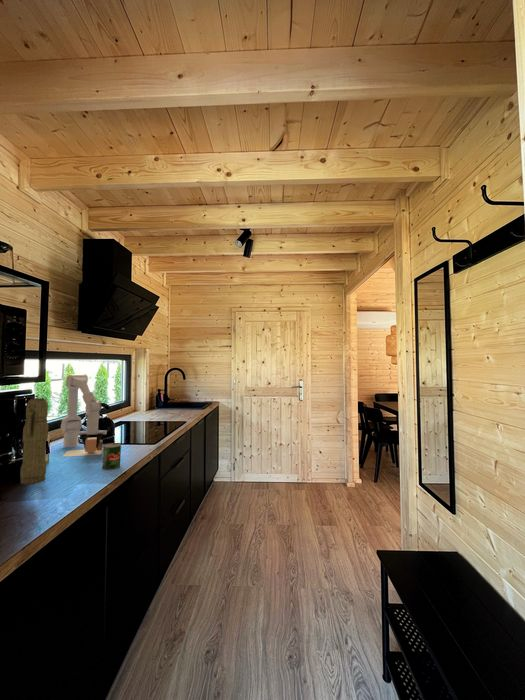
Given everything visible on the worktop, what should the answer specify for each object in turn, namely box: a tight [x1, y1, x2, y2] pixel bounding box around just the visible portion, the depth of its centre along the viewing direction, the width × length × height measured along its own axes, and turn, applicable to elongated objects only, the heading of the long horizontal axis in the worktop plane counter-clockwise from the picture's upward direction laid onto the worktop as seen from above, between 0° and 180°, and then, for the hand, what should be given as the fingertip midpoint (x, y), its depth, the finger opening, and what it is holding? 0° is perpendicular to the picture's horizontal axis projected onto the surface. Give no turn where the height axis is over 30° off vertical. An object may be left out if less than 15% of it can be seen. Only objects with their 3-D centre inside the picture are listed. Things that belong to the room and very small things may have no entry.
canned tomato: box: [102, 442, 122, 471], centre depth 153 cm, size 8×8×11 cm
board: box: [62, 448, 103, 458], centre depth 174 cm, size 12×18×1 cm, turn 108°
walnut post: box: [97, 439, 104, 451], centre depth 181 cm, size 3×3×5 cm
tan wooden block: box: [84, 436, 97, 452], centre depth 174 cm, size 5×5×7 cm
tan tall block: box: [19, 397, 49, 486], centre depth 134 cm, size 9×12×35 cm
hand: (91, 447), depth 174 cm, fingers closed on tan wooden block, 5 cm apart
